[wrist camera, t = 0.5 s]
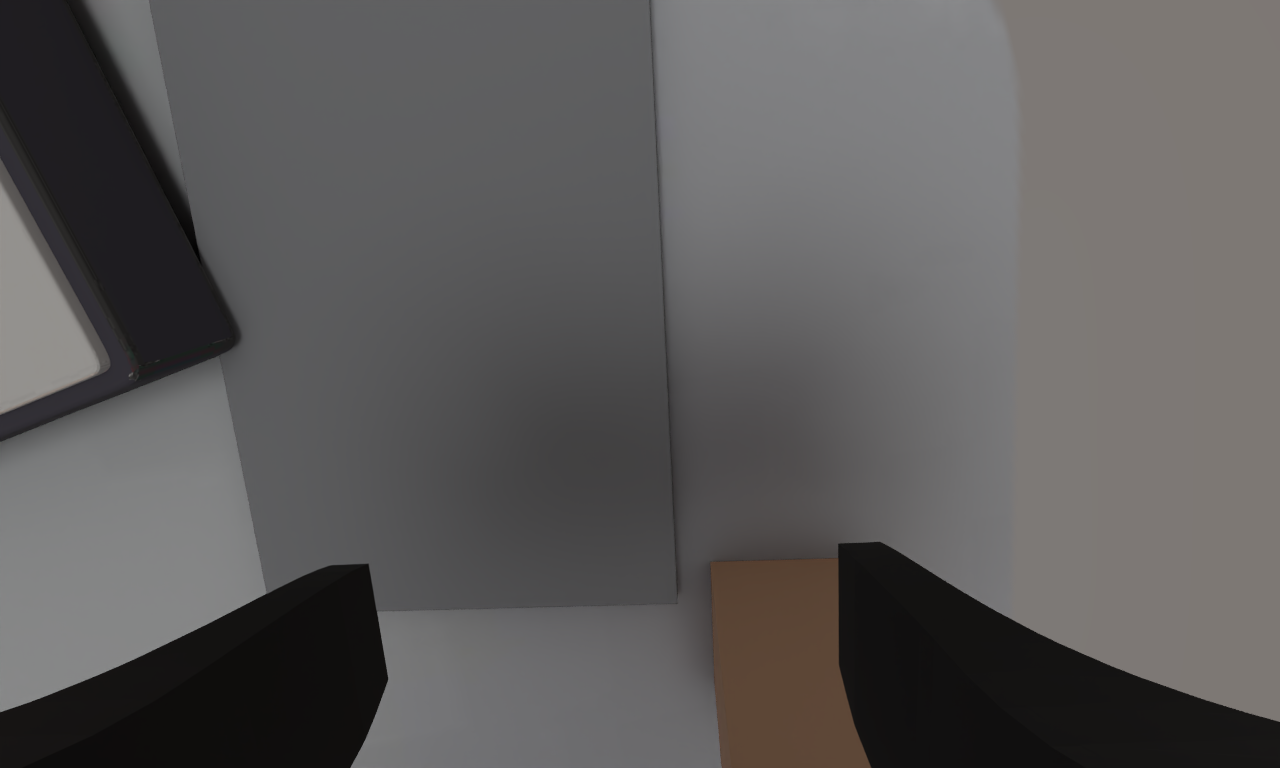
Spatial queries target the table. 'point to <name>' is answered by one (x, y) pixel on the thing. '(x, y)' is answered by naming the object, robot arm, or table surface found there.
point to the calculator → (84, 236)
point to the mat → (437, 289)
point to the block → (780, 666)
